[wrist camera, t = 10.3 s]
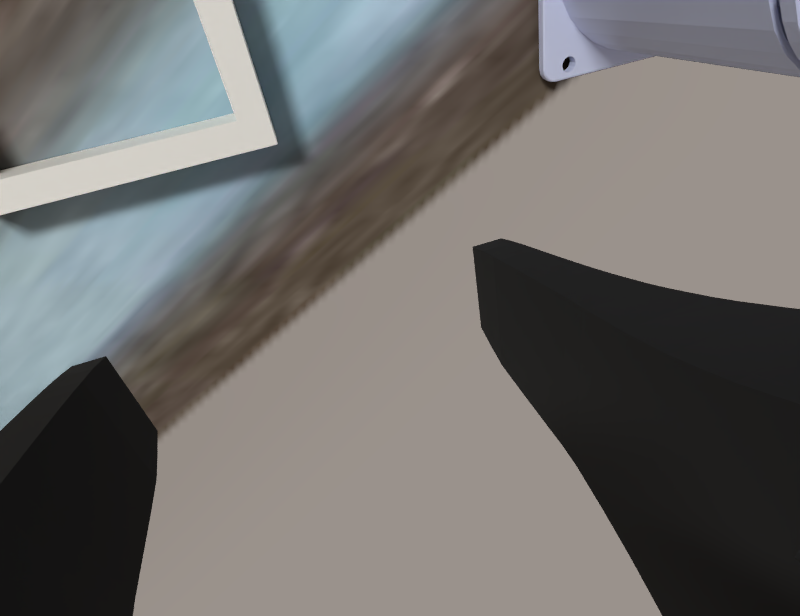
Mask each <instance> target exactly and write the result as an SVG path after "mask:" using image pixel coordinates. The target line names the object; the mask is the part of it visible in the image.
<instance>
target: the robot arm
mask: <svg viewBox="0 0 800 616" xmlns="http://www.w3.org/2000/svg"><path fill="white" fill-rule="evenodd" d="M538 3H539V70H540V75H541V76H542V78H543V79H545V80H547V81H550V82H557V81H561V80H565V79H568V78H572V77H576V76H580V75H584V74H588V73H592V72H596V71H599V70H603V69H607V68H611V67H615V66H619V65H623V64H626V63H630V62H634V61H638V60H642V59H646V58H650V57H654V56H661V57H667V58H674V59H681V60H688V61H694V62H701V63H708V64H715V65H721V66H729V67H735V68H741V69H748V70H755V71H762V72H768V73H775V74H782V75H789V76H796V77H800V0H538ZM567 57H569V60H570V63H569V66H568V67H567V69H565V70H563V67H562V65H563V61H564V60H565V58H567ZM473 254H474V263H475V272H476V282H477V292H478V301H479V310H480V320H481V328H482V330H483V331H484V333H485V335H486V337H487V339H488V341H489V343H490V345H491V346H492V348H493V350H494V352H495V353H496V355H497V357H498V359H499V360H500V362H501V364H502V365H503V367H504V368H505V369H506V371H507V372H508V374H509V375H510V376H511V378H512V379H513V380H514V382H515V383H516V384H517V386H518V387H519V389H520V390H521V391H522V393H523V394H524V395H525V397H526V398H527V399H528V400H529V402H530V403H531V404H532V406H533V407H534V408H535V410H536V411H537V412H538V414H539V415H540V416H541V418H542V419H543V420H544V422H545V423H546V424H547V426H548V427H549V428H550V429H551V431H552V432H553V434H554V435H555V436H556V437H557V439H558V440H559V441H560V443H561V444H562V445H563V447H564V448H565V450H566V451H567V453H568V454H569V456H570V457H571V458H572V460H573V461H574V463H575V464H576V466H577V467H578V469H579V471H580V472H581V474H582V475H583V477H584V479H585V481H586V482H587V484H588V486H589V487H590V489H591V491H592V492H593V494H594V496H595V497H596V499H597V500H598V502H599V504H600V505H601V507H602V509H603V510H604V512H605V514H606V516H607V517H608V519H609V521H610V522H611V524H612V526H613V528H614V529H615V531H616V533H617V535H618V536H619V538H620V540H621V541H622V543H623V545H624V547H625V549H626V550H627V552H628V554H629V555H630V557H631V559H632V561H633V563H634V564H635V566H636V568H637V570H638V572H639V574H640V575H641V577H642V579H643V581H644V583H645V585H646V586H647V588H648V590H649V592H650V594H651V595H652V597H653V599H654V601H655V603H656V605H657V606H658V608H659V610H660V612H661V614H662V616H800V309H794V308H785V307H777V306H770V305H763V304H755V303H747V302H740V301H733V300H727V299H721V298H715V297H709V296H704V295H699V294H694V293H689V292H684V291H679V290H674V289H669V288H665V287H660V286H656V285H652V284H648V283H644V282H640V281H637V280H633V279H629V278H626V277H622V276H618V275H615V274H611V273H608V272H604V271H601V270H598V269H594V268H591V267H588V266H585V265H582V264H579V263H576V262H573V261H570V260H567V259H564V258H561V257H558V256H555V255H552V254H549V253H546V252H543V251H540V250H537V249H535V248H531V247H528V246H526V245H523V244H519V243H516V242H513V241H509V240H505V239H498V240H494V241H491V242H488V243H484V244H481V245H477V246H474V247H473ZM156 476H157V430H156V428H155V427H154V425H153V424H152V422H151V421H150V419H149V418H148V416H147V415H146V414H145V412H144V411H143V409H142V408H141V406H140V405H139V403H138V402H137V401H136V399H135V398H134V396H133V395H132V393H131V392H130V390H129V389H128V388H127V386H126V385H125V383H124V382H123V380H122V379H121V377H120V376H119V375H118V373H117V372H116V370H115V369H114V367H113V366H112V364H111V363H110V362H109V360H108V359H107V357H106V356H105V357H102V358H99V359H95V360H92V361H88V362H85V363H82V364H78V365H75V366H72V367H70V368H69V369H68V370H67V371H65V372H64V373H63V374H61V375H60V376H59V377H58V378H57V379H55V380H54V381H53V382H52V383H51V384H50V385H49V386H47V387H46V388H45V389H44V390H43V391H42V392H41V393H40V394H39V395H38V396H37V397H35V398H34V399H33V400H32V401H31V402H30V403H29V404H28V405H27V406H26V407H25V408H24V409H23V410H22V411H21V412H20V413H19V414H18V415H17V416H16V417H14V418H13V419H12V420H11V421H10V422H9V423H8V424H7V425H6V426H5V427H4V428H3V429H2V430H1V431H0V616H133V609H134V602H135V595H136V590H137V585H138V580H139V574H140V569H141V563H142V558H143V552H144V547H145V542H146V536H147V531H148V525H149V520H150V514H151V509H152V503H153V497H154V491H155V485H156Z"/></svg>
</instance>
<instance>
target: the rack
mask: <svg viewBox="0 0 800 616" xmlns="http://www.w3.org/2000/svg"><path fill="white" fill-rule="evenodd" d="M194 3H195V6H196V9H197V11H198V14H199V17H200V20H201V23H202V25H203V28H204V31H205V34H206V36H207V39H208V42H209V45H210V48H211V50H212V53H213V56H214V59H215V62H216V64H217V67H218V70H219V73H220V75H221V78H222V81H223V84H224V87H225V89H226V92H227V95H228V98H229V101H230V103H231V106H232V109H233V112H234V113H232V114H228V115H224V116H220V117H216V118H212V119H208V120H204V121H200V122H196V123H192V124H188V125H183V126H179V127H175V128H171V129H167V130H163V131H159V132H155V133H151V134H147V135H143V136H139V137H135V138H131V139H126V140H122V141H118V142H114V143H110V144H106V145H102V146H98V147H94V148H90V149H86V150H82V151H78V152H74V153H69V154H65V155H61V156H57V157H53V158H49V159H45V160H41V161H37V162H33V163H29V164H25V165H21V166H17V167H13V168H8V169H4V170H0V215H3V214H7V213H11V212H15V211H19V210H22V209H26V208H30V207H34V206H38V205H42V204H46V203H50V202H54V201H58V200H62V199H66V198H69V197H73V196H77V195H81V194H85V193H89V192H93V191H97V190H101V189H105V188H109V187H113V186H116V185H120V184H124V183H128V182H132V181H136V180H140V179H144V178H148V177H152V176H156V175H160V174H163V173H167V172H171V171H175V170H179V169H183V168H187V167H191V166H195V165H199V164H203V163H207V162H210V161H214V160H218V159H222V158H226V157H230V156H234V155H238V154H242V153H246V152H250V151H254V150H257V149H261V148H265V147H269V146H273V145H277V144H278V143H277V138H276V133H275V130H274V127H273V124H272V121H271V118H270V114H269V111H268V108H267V105H266V102H265V99H264V96H263V92H262V89H261V86H260V83H259V80H258V77H257V74H256V71H255V67H254V64H253V61H252V58H251V55H250V52H249V49H248V46H247V42H246V39H245V36H244V33H243V30H242V27H241V24H240V20H239V17H238V14H237V11H236V8H235V5H234V2H233V0H194Z"/></svg>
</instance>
